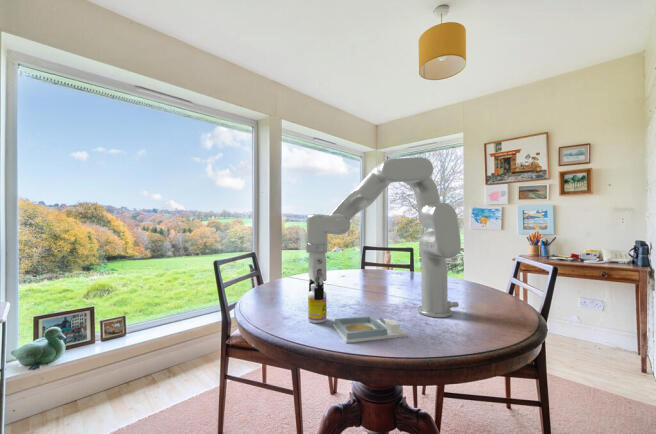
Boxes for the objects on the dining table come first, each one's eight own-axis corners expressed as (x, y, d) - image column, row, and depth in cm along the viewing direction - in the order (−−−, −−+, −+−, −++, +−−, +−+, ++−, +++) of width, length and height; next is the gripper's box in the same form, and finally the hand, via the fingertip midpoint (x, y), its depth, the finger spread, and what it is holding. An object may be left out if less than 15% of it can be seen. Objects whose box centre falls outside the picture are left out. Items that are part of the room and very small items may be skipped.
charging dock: (387, 321, 104) (387, 312, 104) (407, 336, 90) (407, 325, 91) (333, 326, 99) (333, 316, 99) (345, 343, 86) (345, 332, 86)
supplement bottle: (324, 324, 101) (324, 287, 101) (305, 323, 102) (305, 286, 102) (328, 318, 108) (328, 283, 108) (310, 316, 109) (310, 282, 109)
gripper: (333, 250, 98) (332, 302, 97) (321, 246, 114) (320, 290, 114) (311, 251, 96) (310, 303, 96) (302, 246, 113) (301, 290, 112)
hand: (315, 296), depth 105 cm, fingers open, 9 cm apart
